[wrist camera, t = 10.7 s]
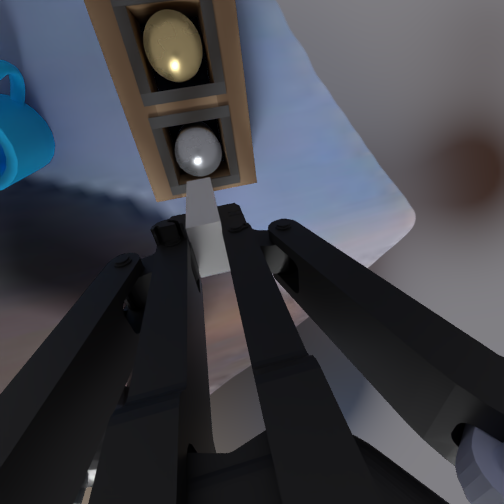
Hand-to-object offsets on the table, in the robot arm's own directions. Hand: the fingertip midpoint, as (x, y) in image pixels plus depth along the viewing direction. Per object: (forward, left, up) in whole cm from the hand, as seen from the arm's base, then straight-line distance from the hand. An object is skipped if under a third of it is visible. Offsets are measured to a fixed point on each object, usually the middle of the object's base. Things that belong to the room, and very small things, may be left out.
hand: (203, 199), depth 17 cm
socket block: (0, +5, -20) cm, 21 cm away
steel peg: (0, 0, -20) cm, 20 cm away
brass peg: (0, +9, -20) cm, 22 cm away
